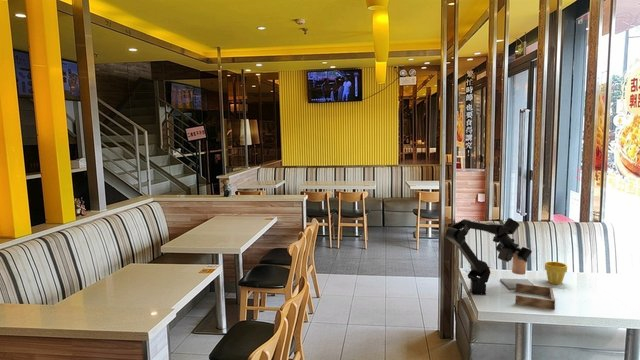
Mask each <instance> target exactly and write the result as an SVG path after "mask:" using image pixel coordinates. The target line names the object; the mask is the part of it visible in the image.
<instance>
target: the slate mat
mask: <svg viewBox="0 0 640 360" xmlns="http://www.w3.org/2000/svg"><path fill="white" fill-rule="evenodd" d="M499 280H500V282H501V283H502V284H503V285H504V286H505V287H506V288H507V289H508V290H510V291H512V290H514V291H516V283H520V284H529V285H535V284H534V283H533V282H531V280H529V279H528V278H500V279H499Z"/></svg>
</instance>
